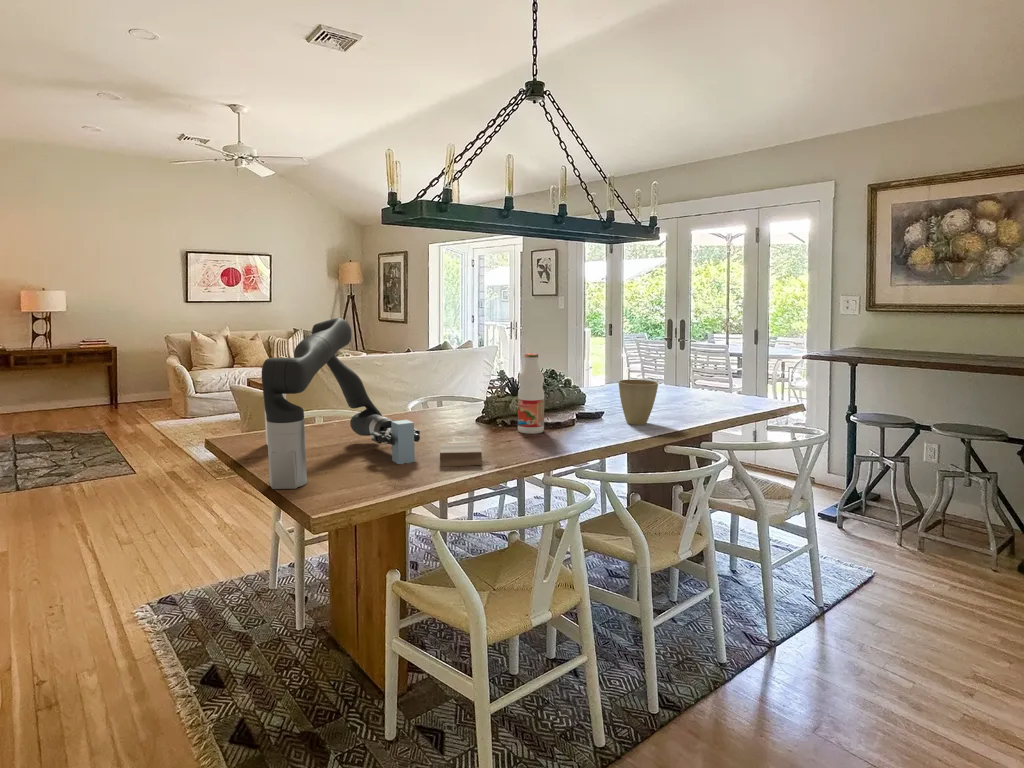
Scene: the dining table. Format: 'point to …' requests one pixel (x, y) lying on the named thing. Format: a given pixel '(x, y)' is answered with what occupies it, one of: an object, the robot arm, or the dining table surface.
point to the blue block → (403, 441)
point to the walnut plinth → (460, 454)
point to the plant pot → (637, 399)
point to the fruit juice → (531, 397)
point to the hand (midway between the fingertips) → (405, 439)
